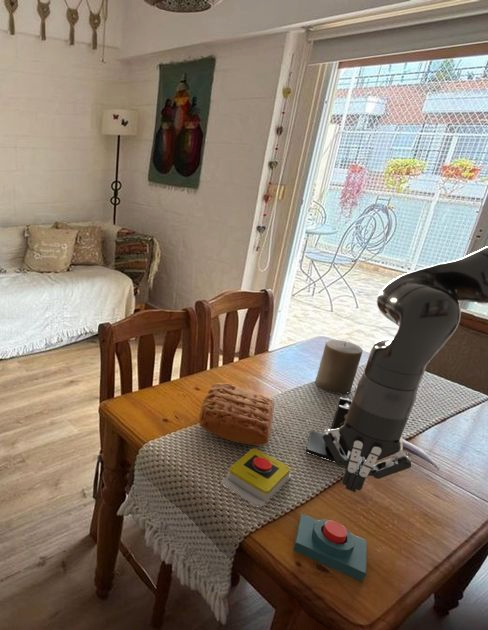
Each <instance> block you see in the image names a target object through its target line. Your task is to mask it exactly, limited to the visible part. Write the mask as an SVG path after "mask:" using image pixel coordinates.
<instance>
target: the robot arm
mask: <svg viewBox="0 0 488 630" xmlns="http://www.w3.org/2000/svg"><path fill="white" fill-rule="evenodd" d="M460 302H469V303H473V304H474V303H475V304H484V305H485V304H488V246H485V247H483V248H481V249H479V250H477V251H474V252H472V253H470V254H468V255H466V256H464V257H462V258H459V259H456V260H452V261H447V262H442V263H438V264H435V265H431V266H427V267H423V268H420V269H416V270H413V271H410V272H407V273H404V274H402V275H399V276H397V277H396V278H393V279H392V280H391V281H389V282H388V283H387V284H385V286H384V287H383V288H382V289H381V290H380V291H379V293H378V295H377V298H376V306H377V309H378V311H379V312H380V313H381V315H382V316H383V317H384V318H386V319H388V320H389V321H391V322H392V323H393V324H395V325H396V326H398V328H397V332H396V334H395V335H394V337H383V338H380V339H377V340H376V341H375V342H374V343H373V345H372V347H371V350H370V352H369V355H368V358H367V361H366V364H365V367H364V370H363V372H362V374H361V376H360V378H359V379H358V382H357V385H356V387H354V390H353V396H352V399H351V400H352V402H351V405H350V408H349V411H348V414H347V417H346V420H345V421H344V422H343V423H342V424H341V425H340V426H339V428H337V429H333V430H331V429H330V428H331V427H325V428H323V433H322V434H323V440H324V441H325V443H326V445H327V447H328V448H329V450H330V452H331V454H332V455H333V457H334V459H335V461H336V463H337V464H336V463H335V464H336V465H338V466H340V467H341V466H342V467H343V468H345V470H344V473H343V475H342V481H341V482H342V485H343V486H345V490H348V491H350V492H353V493H356V492H357V491H361V490H362V489H363V486H364V483H365V481H366V478H368V477H373V478H374V479H377V480H381V479H383V478H385V477H388V476H391V475H394V474H396V473H397V474H398V473H399V472H403V471H405V470H407V469H410V468H412V458H411V457H412V456H411V454H409V452H404V450H403V451H402V450H401V443H400V438H401V439H402V435H403V433H404V431H405V428H406V426H407V423H408V421H409V418H410V416H411V413H412V410H413V408H414V405H415V402H416V400H417V394H418V390H419V388H420V385H421V382H422V379H423V377H424V374H425V372H426V370H427V369H426V368H427V366H428V364H429V363H430V362H431V360H432V359H434V357H435V356H436V355H437V354H438V353H439V352H440V351H441V349H442V348H443V347H444V346H445V344H446V343H447V342H448V341H449V340H450V339H451V337H452V336H453V334H455V332H456V330H457V328H458V327H459V324H460V322H461V317H462V308H461V304H460ZM339 436H341V438H342V439H343V441H344V443H345V445H346V447H347V449H348V450H349V451H350V455H349V457H347V456H346V455H345V453H344V451H343V449H342V447H341V446H340V444H339V438H340V437H339ZM360 456H361V457H363V459H362V461H361V463H360V465H359V468H358V467H357V465H358V462H359V458H360ZM390 456H391V457H390ZM388 457H390V458H388ZM385 458H387V459H385ZM383 459H384V460H383ZM381 460H382V461H381ZM377 461H379V462H377ZM376 462H377V463H376Z"/></svg>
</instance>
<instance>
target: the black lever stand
mask: <svg viewBox="0 0 488 630" xmlns="http://www.w3.org/2000/svg"><path fill="white" fill-rule="evenodd" d="M346 402H348V403H349V404H350V405H351V402H352V399H350V398H347V397H342V396H340V397H339V400H338V403H337V407H336V410H335V411H336V413H335V412H334V416H333V419H332V422H331V426H330V427H329V428H330V429H331V430H333V429H337V428H339V426H340V425H341V424H342V423H343V422H344V421H345V420H346V417H347V414H348V411H349V407H345V406H343V405H344V404H345V403H346ZM339 437H340V438H339V444H340V446H341V447H342V449H343V451H344V453H345V455H346V456H347V457H349V455H350V451H349V450H348V449H347V447H346V445H345V443H344V441H343V439H342V438H341V436H339ZM308 440H309V441H307V445H306V450H305V453H306V452H309V453H311V454H314V455H317V456H319V457H323V458H326V459H329V460H331V461H335V459H334V457H333V455H332V454H331V452H330V450H329V448H328V447H327V445H326V443H325V441H324V440H323V433H321V432H319V431H316V430H312V429H311V430H310V432H309V436H308ZM319 457H318V458H319ZM362 459H363V457H361V456H360V458H359V462H358V465H357V467H358V468H359V465H360V463H361V461H362ZM335 462H336V461H335Z"/></svg>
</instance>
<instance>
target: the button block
mask: <svg viewBox="0 0 488 630" xmlns="http://www.w3.org/2000/svg"><path fill="white" fill-rule="evenodd" d="M327 521H332V520H331V519H319V520H318V519H316V518H314V517H311V516H309V515H308V514H307V515H306V514H304V513H301V514H300V517H299V520H298V525H297V530H296V535H295V539H294V545H293V550H292V551H294V552H296V553H298V554H300V555H302V556H304V557H306V558H309V559H311V560H313V561H314V562H317V563H320V564H322V565H324V566H326V567H328V568H331V569H333V570H335V571H337V572H339V573H341V574H344V575H346V576H348V577H350V578H352V579H354V580H357V581H358V582H362V583H363V582H364V581H365V580H364V579H365V578H366V575H367V555H368V553H367V551H368V541H367V539H364V538H362V537H359V536H358V535H357V536H356V535H355V534H353V533H351V531H350V530H349V529H348V528H346V527H345V529H346V530H347V537H346V539H345V542H344V543H342V544H336V543H333V542H331V541H329V540H328V539H327V538H326V537H325V536H324V535H323V528H324V525H325V523H326V522H327Z"/></svg>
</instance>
